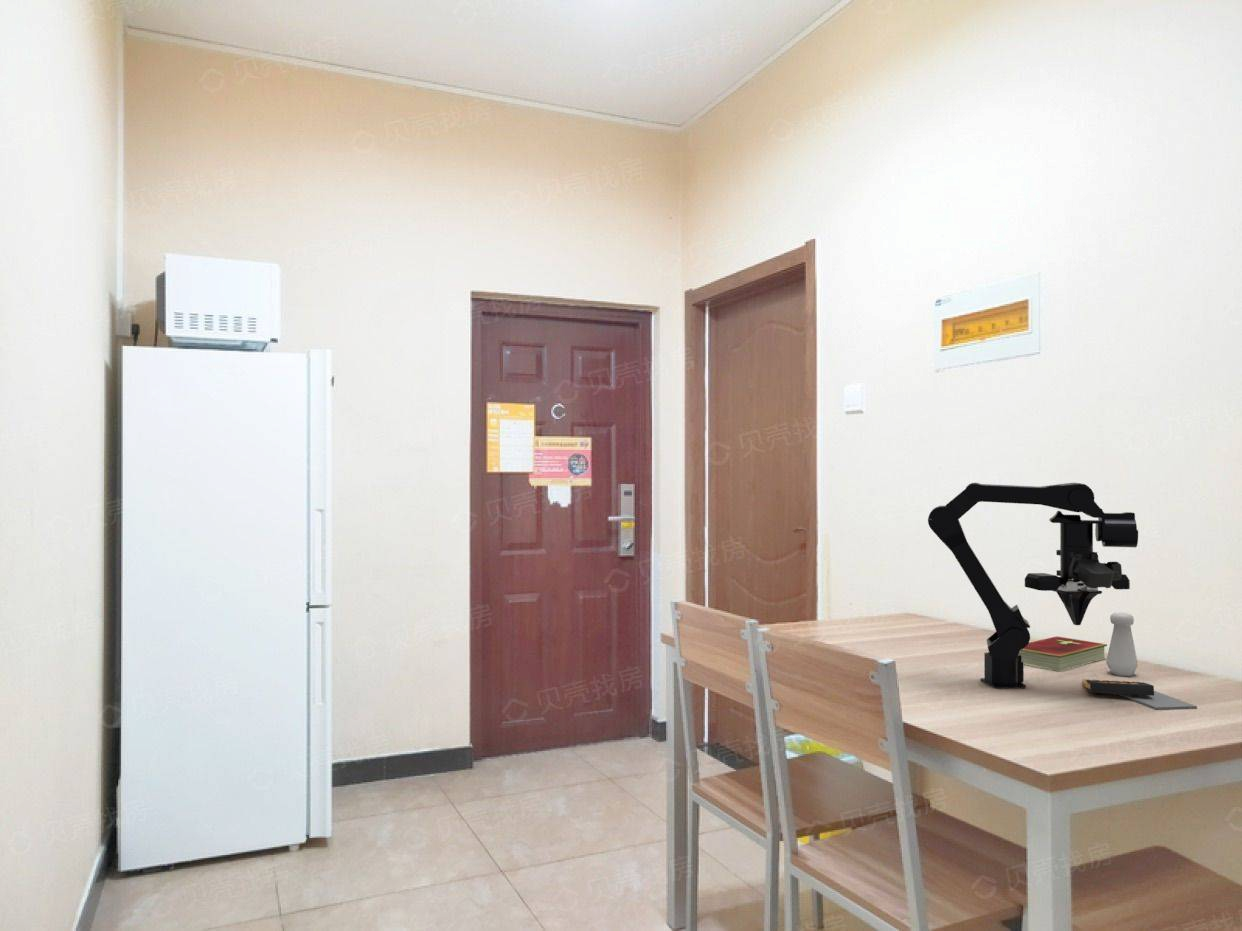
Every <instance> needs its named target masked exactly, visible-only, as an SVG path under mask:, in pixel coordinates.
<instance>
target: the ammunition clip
mask: <svg viewBox="0 0 1242 931" xmlns="http://www.w3.org/2000/svg"><path fill="white" fill-rule="evenodd" d="M1081 683H1082V684H1083V686H1084V687H1085V688H1086V690H1087V691H1088V692H1089V693H1091V694H1093V693H1094V694H1109V695H1111V694H1113V695H1117V694H1131V695H1152V696H1154V691H1155V688H1154V687H1155V686H1154V685H1153V684H1150V683H1148V682H1141V681H1128V680H1122V681H1121V680H1120V681H1119V680H1109V679H1108V680H1105V679H1103V680H1099V679H1091V680H1090V679H1087V678H1086V679H1085V678H1084V679H1082V680H1081Z"/></svg>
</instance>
